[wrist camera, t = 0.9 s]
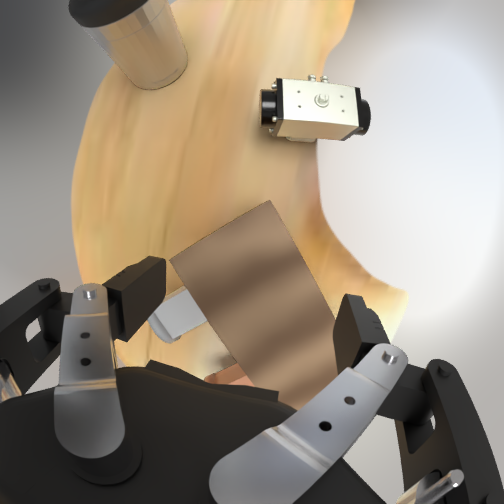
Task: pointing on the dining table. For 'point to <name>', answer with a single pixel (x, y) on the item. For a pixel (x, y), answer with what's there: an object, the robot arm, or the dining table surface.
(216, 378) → the terracotta plug
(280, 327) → the socket block
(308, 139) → the pneumatic valve
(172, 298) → the grey plug
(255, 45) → the dining table surface
